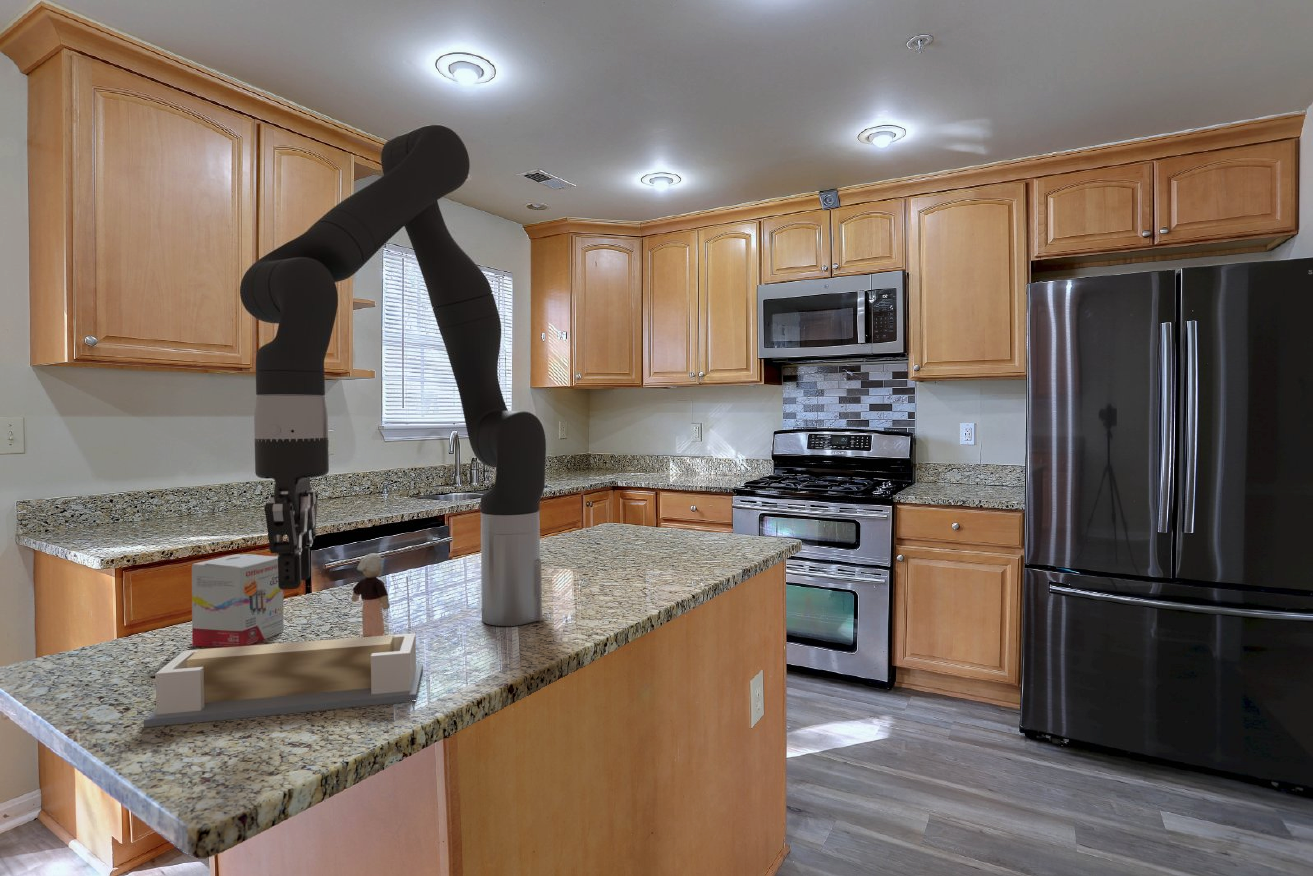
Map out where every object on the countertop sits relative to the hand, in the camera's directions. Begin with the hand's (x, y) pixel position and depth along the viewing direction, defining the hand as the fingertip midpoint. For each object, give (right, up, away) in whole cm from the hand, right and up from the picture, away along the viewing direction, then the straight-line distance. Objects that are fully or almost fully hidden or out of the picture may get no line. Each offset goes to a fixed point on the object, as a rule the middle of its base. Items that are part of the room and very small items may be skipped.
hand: (295, 583), depth 81 cm
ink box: (-19, -13, +22) cm, 32 cm away
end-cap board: (0, -13, 0) cm, 13 cm away
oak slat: (0, -12, 0) cm, 12 cm away
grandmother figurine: (+1, -13, +21) cm, 24 cm away
